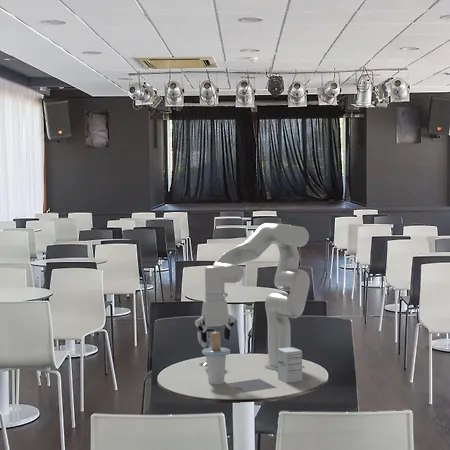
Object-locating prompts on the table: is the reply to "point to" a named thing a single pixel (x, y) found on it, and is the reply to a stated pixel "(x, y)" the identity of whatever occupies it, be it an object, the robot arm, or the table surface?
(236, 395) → the table surface
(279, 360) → the supplement box
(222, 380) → the cup
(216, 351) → the lid
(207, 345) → the wine glass
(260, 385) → the mat
